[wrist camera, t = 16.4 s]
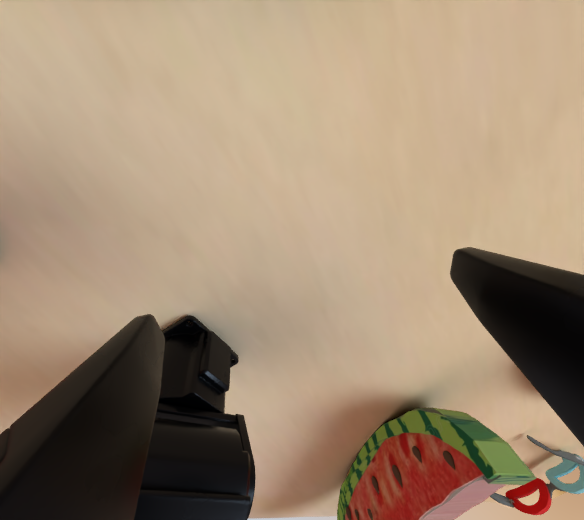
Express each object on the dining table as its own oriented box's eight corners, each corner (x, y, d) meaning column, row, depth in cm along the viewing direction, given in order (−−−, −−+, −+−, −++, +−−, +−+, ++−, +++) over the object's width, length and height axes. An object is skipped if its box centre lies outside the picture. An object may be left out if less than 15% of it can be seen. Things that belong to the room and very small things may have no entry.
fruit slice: (424, 370, 31) (493, 474, 23) (465, 378, 33) (544, 476, 25) (320, 492, 42) (341, 594, 33) (357, 492, 44) (385, 589, 35)
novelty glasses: (504, 487, 53) (527, 522, 48) (460, 473, 46) (482, 512, 42) (574, 447, 48) (606, 481, 44) (536, 425, 42) (569, 463, 38)
